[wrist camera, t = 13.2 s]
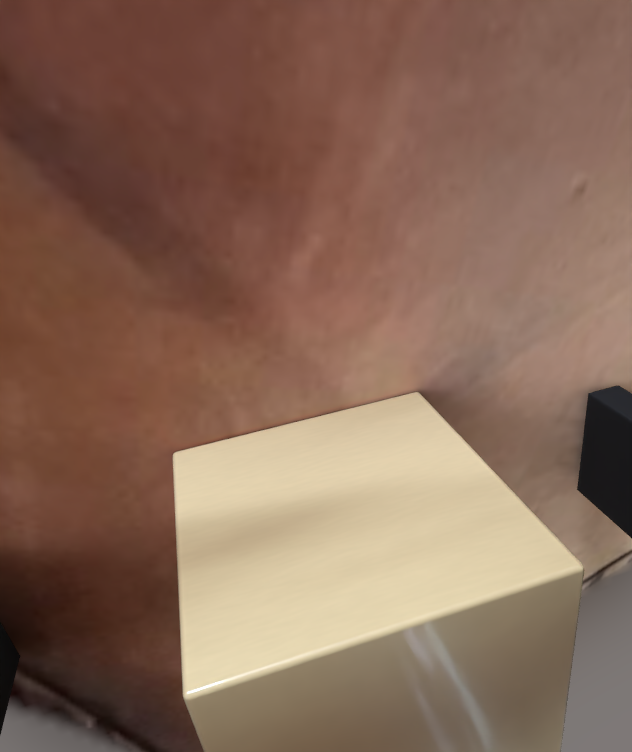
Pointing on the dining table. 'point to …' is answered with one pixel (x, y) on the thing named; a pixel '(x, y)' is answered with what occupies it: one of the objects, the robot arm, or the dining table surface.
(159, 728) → the dining table surface
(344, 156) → the dining table surface
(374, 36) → the dining table surface
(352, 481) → the block
